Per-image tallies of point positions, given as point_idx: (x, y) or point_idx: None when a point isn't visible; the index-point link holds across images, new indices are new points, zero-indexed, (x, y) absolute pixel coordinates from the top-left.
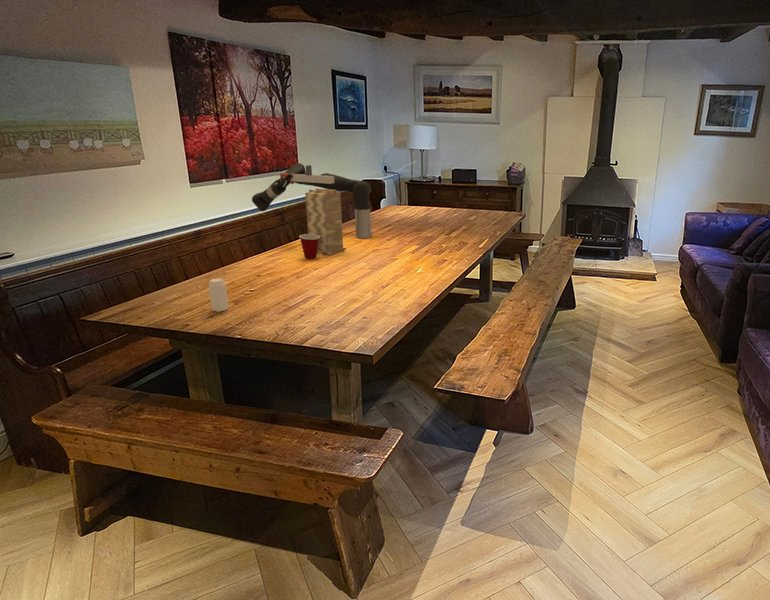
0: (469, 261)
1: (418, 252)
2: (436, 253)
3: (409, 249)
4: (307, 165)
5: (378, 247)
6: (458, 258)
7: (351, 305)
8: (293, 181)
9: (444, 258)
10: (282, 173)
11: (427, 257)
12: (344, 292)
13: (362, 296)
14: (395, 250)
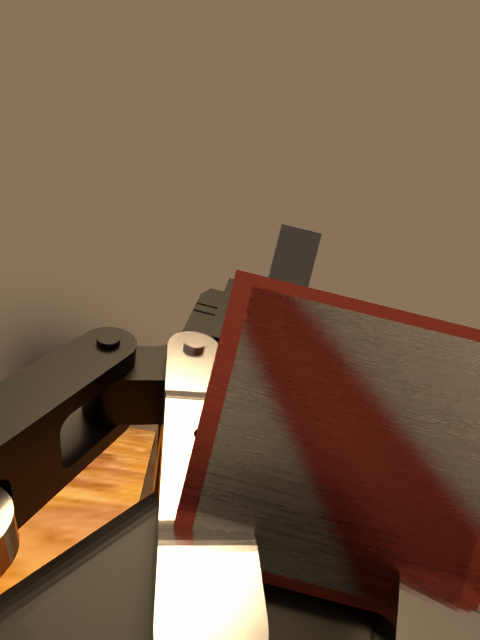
0: (150, 432)
1: (95, 478)
2: (98, 457)
3: (59, 492)
4: (301, 230)
5: (31, 560)
6: (133, 439)
7: None
8: (79, 470)
9: (141, 451)
10: (416, 316)
11: (142, 467)
12: None
13: None
14: (78, 515)
